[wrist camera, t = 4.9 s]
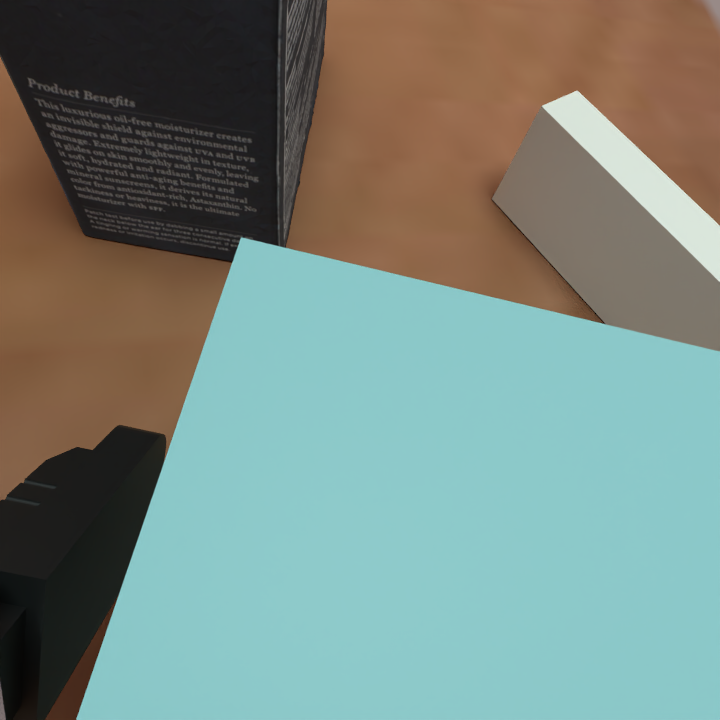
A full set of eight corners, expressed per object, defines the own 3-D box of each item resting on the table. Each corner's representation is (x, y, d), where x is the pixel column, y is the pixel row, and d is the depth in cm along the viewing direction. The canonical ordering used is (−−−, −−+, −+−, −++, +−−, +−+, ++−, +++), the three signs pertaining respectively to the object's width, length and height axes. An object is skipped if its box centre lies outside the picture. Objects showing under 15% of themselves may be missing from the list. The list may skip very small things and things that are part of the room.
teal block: (188, 725, 12) (-24, 1014, 3) (253, 477, 14) (240, 236, 6) (434, 769, 12) (885, 1139, 3) (456, 520, 15) (750, 359, 6)
